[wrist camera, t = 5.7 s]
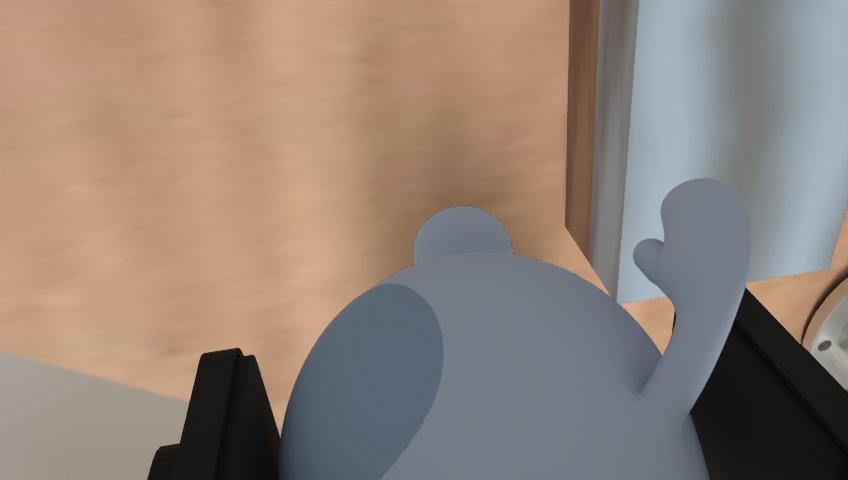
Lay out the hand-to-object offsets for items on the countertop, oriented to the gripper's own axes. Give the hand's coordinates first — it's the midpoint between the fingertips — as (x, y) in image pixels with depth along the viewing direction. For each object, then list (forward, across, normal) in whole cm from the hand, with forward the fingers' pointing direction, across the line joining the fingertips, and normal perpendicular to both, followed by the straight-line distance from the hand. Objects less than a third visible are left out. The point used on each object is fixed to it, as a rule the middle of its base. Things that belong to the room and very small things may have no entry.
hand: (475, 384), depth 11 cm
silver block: (+21, -14, +4) cm, 26 cm away
